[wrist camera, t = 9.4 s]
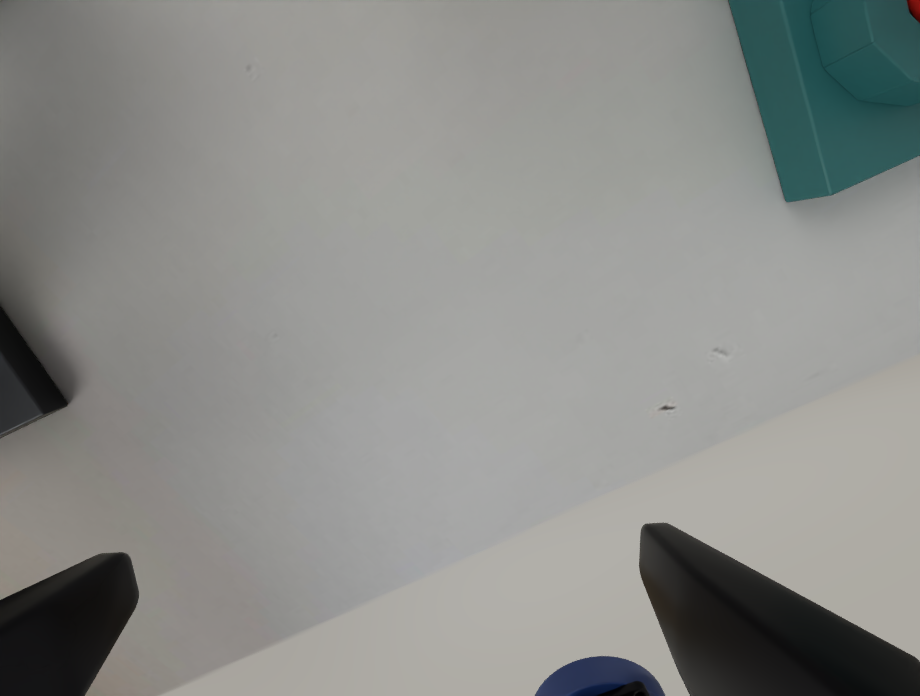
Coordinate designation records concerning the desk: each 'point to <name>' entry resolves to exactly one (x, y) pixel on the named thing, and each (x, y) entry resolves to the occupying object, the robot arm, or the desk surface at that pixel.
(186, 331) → the desk surface
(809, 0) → the control block
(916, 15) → the button
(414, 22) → the desk surface
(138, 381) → the desk surface
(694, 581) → the robot arm
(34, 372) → the bracket
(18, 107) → the desk surface
